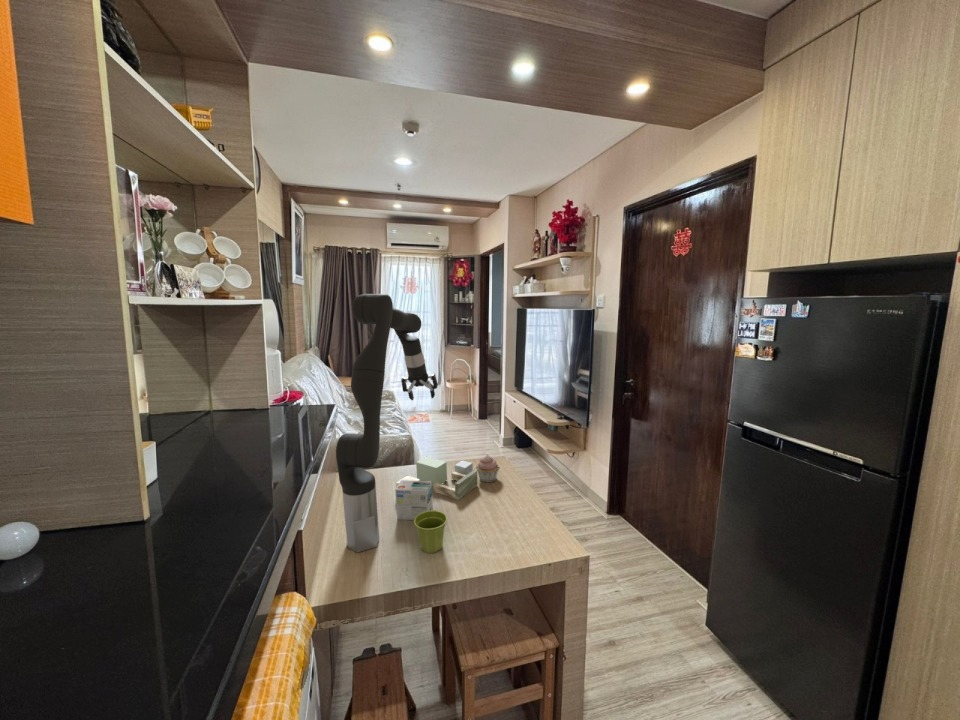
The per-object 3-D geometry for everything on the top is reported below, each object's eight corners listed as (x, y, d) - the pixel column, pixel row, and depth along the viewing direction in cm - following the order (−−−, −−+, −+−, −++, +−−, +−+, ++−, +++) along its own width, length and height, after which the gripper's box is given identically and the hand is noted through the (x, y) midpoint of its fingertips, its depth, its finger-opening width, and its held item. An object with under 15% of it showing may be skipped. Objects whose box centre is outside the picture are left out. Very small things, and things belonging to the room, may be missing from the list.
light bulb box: (433, 509, 134) (432, 480, 132) (429, 521, 128) (427, 490, 126) (402, 508, 135) (400, 479, 133) (396, 520, 129) (394, 489, 127)
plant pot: (418, 536, 120) (417, 510, 118) (449, 536, 120) (448, 510, 118) (412, 557, 111) (410, 529, 109) (446, 557, 110) (445, 529, 109)
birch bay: (477, 485, 150) (477, 470, 149) (458, 500, 140) (458, 484, 139) (453, 478, 156) (453, 464, 154) (434, 491, 146) (433, 476, 145)
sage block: (447, 481, 154) (446, 461, 152) (437, 488, 149) (436, 468, 147) (427, 475, 159) (426, 456, 158) (417, 481, 154) (416, 462, 153)
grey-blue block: (472, 474, 159) (472, 463, 158) (465, 479, 154) (465, 467, 154) (462, 471, 161) (462, 460, 160) (455, 476, 157) (454, 465, 156)
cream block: (420, 494, 144) (420, 479, 143) (409, 502, 139) (408, 486, 138) (408, 490, 147) (407, 475, 146) (396, 498, 142) (395, 482, 141)
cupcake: (493, 471, 161) (492, 448, 159) (504, 481, 153) (503, 456, 151) (471, 476, 157) (471, 452, 155) (482, 486, 149) (481, 461, 147)
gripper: (395, 368, 156) (404, 404, 162) (431, 365, 155) (438, 401, 161) (399, 361, 163) (407, 395, 169) (434, 357, 162) (440, 392, 168)
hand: (422, 398), depth 165 cm, fingers open, 8 cm apart
